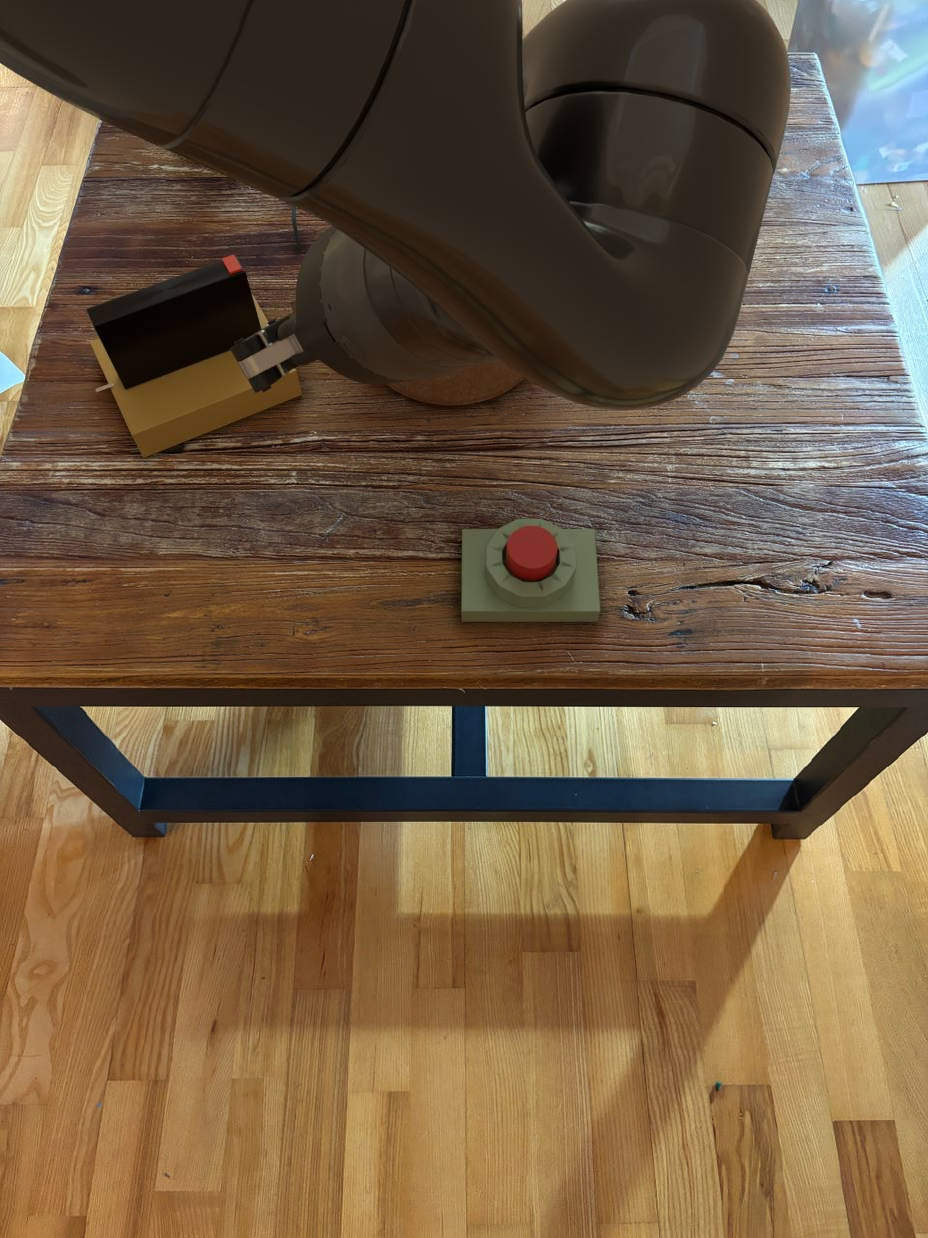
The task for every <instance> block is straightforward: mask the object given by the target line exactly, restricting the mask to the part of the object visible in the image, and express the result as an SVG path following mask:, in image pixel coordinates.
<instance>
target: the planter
mask: <svg viewBox="0 0 928 1238" xmlns="http://www.w3.org/2000/svg"><path fill="white" fill-rule="evenodd" d="M524 379H525V378H524V377H523V376H521V375H520V374H519V373H517V372H516V371H514V370H513V369H511V368H510V367H509V366H507V365H506V364H505V363H503V362H502V361H497V362H491V363H484V364H478V365H471V366H469V367H467V368H465V369H462V370H460V371H458V372H455V373H452V374H448V375H444V376H440V377H434V378H427V379H420V380H413V381H406V382H399V383H392V384H385V385H387V386H388V387H389V388H390V389H392V390H394V391H395V392H397V393H399V394H400V395H402V396H405V397H406V398H409V399H412V400H415V401H418V402H421V403H425V404H429V405H430V404H431V405H437V406H466V405H471V404H472V405H473V404H477V403H481V402H485V401H489V400H492V399H494V398H496V397H498V396H501V395H503V394H505V393H507V392H508V391H510V390H512V389H513V388H515V387H516V386H517V385H519V384H520V383H521V382H522V381H523V380H524Z"/></svg>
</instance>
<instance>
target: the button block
mask: <svg viewBox="0 0 928 1238" xmlns="http://www.w3.org/2000/svg"><path fill="white" fill-rule="evenodd" d="M524 526H539V527H542V528H544V529H546V530H548V531H549V532H550V533H551V534H552V535H553V536H554V538H555V540H556V542H557V547H558V550H557V556H556V562H555V566H554V568H553V570H552V571H551V573H550V574H549V575H547V576H546V577H544V578H542V579H539V580H533V581H530V580H524V579H521V578H519V577H517V576H515V575H514V574H513V573H512V572H511V571H510V570H509V568H508V566H507V563H506V549H507V541H508V539H509V537H510V535H511V534H512V533H513V532H514V531H516V530H517V529H519V528H521V527H524ZM598 573H599V572H598V557H597V543H596V530H595V529H594V528H561V527H560V526H557V525H556V524H553V523H551V522H549V521H547V520H545V519H542V518H518V519H515V520H513V521H511V522H509V523H507V524H505V525H503V526H500V527H499V528H462V529H461V604H460V605H461V622H471V623H472V622H474V623H476V622H481V623H482V622H483V623H486V622H488V623H489V622H492V623H493V622H494V623H495V622H499V623H500V622H503V623H504V622H506V623H507V622H509V623H512V622H515V623H517V622H518V623H519V622H520V623H521V622H522V623H528V622H529V623H531V622H532V623H533V622H535V623H538V622H539V623H540V622H541V623H543V622H544V623H546V622H547V623H550V622H553V623H557V622H558V623H560V622H561V623H570V622H571V623H597V622H598V621H599V617H600V614H601V601H600V587H599V586H600V585H599V574H598Z"/></svg>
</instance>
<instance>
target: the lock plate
mask: <svg viewBox="0 0 928 1238" xmlns="http://www.w3.org/2000/svg"><path fill="white" fill-rule="evenodd" d="M252 296H253V300H254V304H255V307H256V311H257V314H258V318H259V322H260V325H261V329H263V328H265V327H266V326H268V324H267V323H268V322H269V320H268V318H267V317H266V315H265V313H264V312H263V310H262V308H261V306H260V304H259V303H258V301H257V300H256V297H255V295H254V294H253V293H252ZM89 344H90V346H91V348H92V351H93V352H94V353H93V354H94V355H95V357H96V359H97V361H98V364H99V366H100V368H101V371H102V373H103V375H104V377H105V379H106V381H107V384H105V385H103V386H99V387H97V388H95V393H96V394H100V393H102V392H105V391H107V390H111V393H112V395H113V397H114V400H115V401H116V404H117V406H118V408H119V411H120V413H121V415H122V417H123V419H124V421H125V424H126V426H127V428H128V430H129V433H130V435H131V437H132V439H133V441H134V443H135V444H136V447H137V448H138V450H139V452H140V454H141V456H142V458H143V459H144V458H147V457H149V456H150V457H151V456H152V455H155V454H157V453H160V452H162V451H165V450H167V449H171V448H173V447H175V446H177V445H180V444H183V443H185V442H188V441H190V440H193V439H195V438H197V437H200V436H202V435H205V434H208V433H210V432H212V431H216V430H218V429H220V428H223V427H225V426H228V425H230V424H232V423H235V422H237V421H241V420H242V419H245V418H247V417H250V416H254V415H255V414H258V413H260V412H262V411H266V410H268V409H270V408H273V407H276V406H278V405H280V404H283V403H286V402H288V401H290V400H293V399H295V398H298V397H300V396H302V395H303V392H302V388H301V383H300V380H299V379H300V378H299V376H298V372H297V369H296V368H295V369H292V370H291V371H289V374H288V375H286V376H284V377H282V378H280V379H279V380H278V381H277V382H275V383H274V384H272V385H271V387H272V388H270V389H269V390H267V391H265V392H263V391H262V390H261V391H259V392H257V393H255V392H254V390H253V388H252V386H251V385H250V383H249V381H248V380H249V379H247V378H246V377H245V375H244V373H243V372H242V370H241V368H240V366H239V365H238V362H239V361H238V362H237V361H236V359H235V357H234V355H233V354H232V352H231V350H229V351H226V352H224V353H221V354H218V355H216V356H213V357H211V358H208V359H205V360H203V361H200V362H197V363H195V364H192V365H189V366H187V367H184V368H182V369H179V370H176V371H174V372H171V373H168V374H166V375H163V376H161V377H158V378H155V379H153V380H150V381H147V382H145V383H142V384H140V385H137V386H134V387H132V388H129V389H125V388H124V386H123V384H122V382H121V380H120V378H119V376H118V374H117V372H116V370H115V368H114V366H113V364H112V362H111V360H110V358H109V356H108V354H107V352H106V350H105V348H104V346H103V344H102V342H101V340H100V338H99V337H98V338H97V339H93V340H90V341H89Z"/></svg>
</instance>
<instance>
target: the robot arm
mask: <svg viewBox="0 0 928 1238" xmlns="http://www.w3.org/2000/svg"><path fill="white" fill-rule="evenodd" d="M523 22H524V21H523V0H0V65H2V66H4V67H5V68H6V69H8V70H10V71H11V72H13V73H14V74H16V75H18V76H20V77H21V78H23V79H25V80H26V81H28V82H30V83H31V84H33V85H35V86H37V87H39V88H40V89H42V90H44V91H46V92H48V93H49V94H51V95H52V96H54V97H56V98H57V99H59V100H61V101H63V102H65V103H67V104H69V105H71V106H72V107H75V108H76V109H79V110H80V111H83V112H85V113H87V114H89V115H90V116H93V117H95V118H96V119H99V121H100V120H101V121H102V122H104V123H106V124H108V125H110V126H113V127H115V128H117V129H119V130H120V131H121V130H122V131H124V132H125V133H128V134H129V135H132V136H134V137H137V138H138V139H141V140H143V141H145V142H148V143H150V144H152V145H154V146H156V147H159V148H161V149H164V150H166V151H169V152H171V153H172V154H174V155H178V157H179V156H180V157H182V158H184V159H186V160H188V161H190V162H192V163H196V164H198V165H200V166H203V167H204V168H206V169H209V170H211V171H213V172H215V173H218V174H220V175H222V176H224V177H227V178H229V179H231V180H233V181H235V182H238V183H240V184H242V185H245V186H247V187H249V188H252V189H254V190H256V191H258V192H261V193H263V194H265V195H267V196H270V197H273V198H276V199H278V200H279V201H281V202H283V203H286V204H288V205H289V206H291V207H292V206H294V207H296V209H299V210H301V211H303V212H305V213H307V214H310V215H312V216H314V217H315V218H318V219H319V220H321V221H323V222H325V223H327V224H329V225H330V227H329V228H327V229H326V230H324V231H323V232H322V233H321V234H320V235H319V236H318V237H317V238H316V239H315V240H314V241H313V243H311V245H310V246H309V248H308V250H307V251H306V253H305V255H304V256H303V259H302V261H301V264H300V266H299V270H298V273H297V277H296V285H295V300H292V301H290V307H291V312H290V313H288V314H287V315H286V316H284V317H281V318H279V319H276V318H273V319H271V320H270V321H268V323H267V324H268V326H266V327H265V328H263V329H261V330H260V331H258V332H256V333H255V334H253V335H251V336H250V337H248V338H246V339H245V340H244V338H241V339H239V340H237V341H236V342H234V343H235V344H236V345H235V346H233V347H231V348H230V350H231V352H232V354H233V355H234V357H235V359H236V361H237V362H238V361H239V362H238V365H239V366H240V368H241V370H242V372H243V373H244V375H245V377H246V378H247V379H249V380H248V381H249V383H250V385H251V386H252V388H253V390H254V392H255V393H257V392H259V391H261V390H262V391H263V392H265V391H267V390H269V389H270V388H272V387H271V385H272V384H274V383H275V382H277V381H278V380H279V379H280V378H282V377H284V376H286V375H288V374H289V371H291V370H292V369H296V368H298V367H304V366H308V365H310V364H312V363H314V362H316V361H319V362H321V363H322V364H324V365H325V366H326V367H327V368H329V369H331V370H332V371H334V372H335V373H337V374H338V375H340V376H342V377H344V378H346V379H348V380H351V381H354V382H356V383H360V384H364V385H373V386H382V385H383V386H384V385H386V384H392V383H399V382H406V381H413V380H420V379H427V378H434V377H440V376H444V375H448V374H452V373H455V372H458V371H460V370H462V369H465V368H467V367H469V366H471V365H478V364H484V363H491V362H497V361H502V362H503V363H505V364H506V365H507V366H509V367H510V368H511V369H513V370H514V371H516V372H517V373H519V374H520V375H521V376H523V377H524V379H526V381H529V382H531V383H532V384H534V385H536V386H537V387H540V388H541V389H543V390H545V391H547V392H549V393H551V394H554V395H555V396H558V397H559V398H563V399H565V400H568V401H570V402H573V403H577V404H579V405H582V406H587V407H590V408H595V409H600V410H610V411H638V410H644V409H649V408H650V409H651V408H655V407H657V406H661V405H663V404H666V403H669V402H672V401H674V400H677V399H679V398H681V397H683V396H684V395H686V394H689V392H691V391H692V390H694V389H695V388H696V389H697V387H698V386H700V385H701V384H702V383H703V382H704V381H705V380H706V379H707V378H708V377H709V376H710V375H711V374H713V372H714V371H715V369H717V367H718V366H719V365H720V363H721V361H722V360H723V358H724V357H725V354H726V352H727V351H728V348H729V346H730V343H731V341H732V339H733V337H734V333H735V330H736V327H737V324H738V321H739V316H740V313H741V309H742V305H743V302H744V297H745V293H746V288H747V285H748V281H749V275H750V273H751V269H752V264H753V261H754V256H755V252H756V248H757V244H758V240H759V235H760V231H761V227H762V223H763V220H764V215H765V211H766V208H767V207H766V206H767V203H768V199H769V194H770V190H771V186H772V181H773V177H774V175H775V172H776V169H777V165H778V161H779V158H780V153H781V149H782V145H783V141H784V137H785V133H786V128H787V123H788V119H789V114H790V109H791V108H790V107H791V106H790V105H791V104H790V103H791V96H792V95H791V94H792V92H791V91H792V75H791V68H790V67H791V66H790V60H789V54H788V50H787V49H788V48H787V45H786V44H785V41H784V38H783V35H782V34H781V33H780V31H779V28H778V26H777V25H776V22H775V21H774V19H773V18H772V16H771V15H770V13H769V12H768V11H767V9H766V8H765V7H764V6H763V5H762V4H761V3H760V2H759V1H758V0H564V1H563V2H562V3H560V4H559V5H557V6H556V7H554V8H553V9H552V10H551V11H549V12H548V13H547V14H545V16H544V17H543V18H542V19H541V20H540V21H538V23H537V24H536V25H535V26H534V27H533V28H531V29H530V31H528V33H527V34H526V35H525V36H524V33H523V32H524V26H523V25H524V24H523Z"/></svg>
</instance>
